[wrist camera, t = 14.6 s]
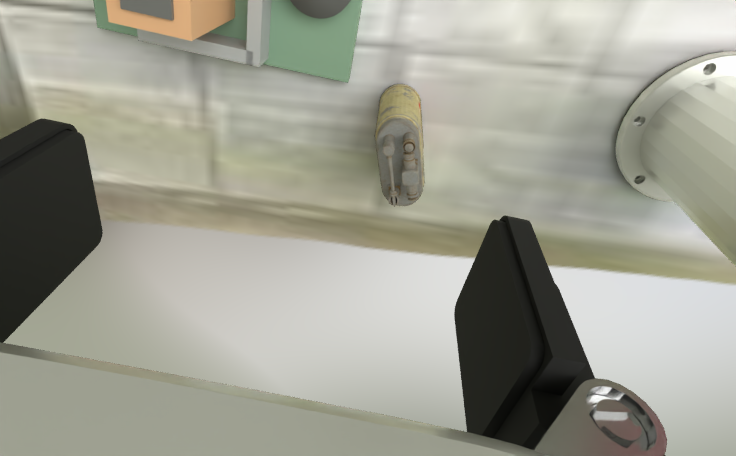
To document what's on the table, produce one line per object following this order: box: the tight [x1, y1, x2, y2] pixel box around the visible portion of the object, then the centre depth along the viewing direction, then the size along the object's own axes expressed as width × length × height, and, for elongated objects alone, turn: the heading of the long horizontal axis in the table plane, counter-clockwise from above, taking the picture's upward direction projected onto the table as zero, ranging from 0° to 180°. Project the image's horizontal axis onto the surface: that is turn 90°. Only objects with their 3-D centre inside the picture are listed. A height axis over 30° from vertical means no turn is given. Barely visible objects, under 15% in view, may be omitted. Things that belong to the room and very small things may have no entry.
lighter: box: [375, 84, 425, 207], centre depth 34 cm, size 7×4×10 cm, turn 7°
